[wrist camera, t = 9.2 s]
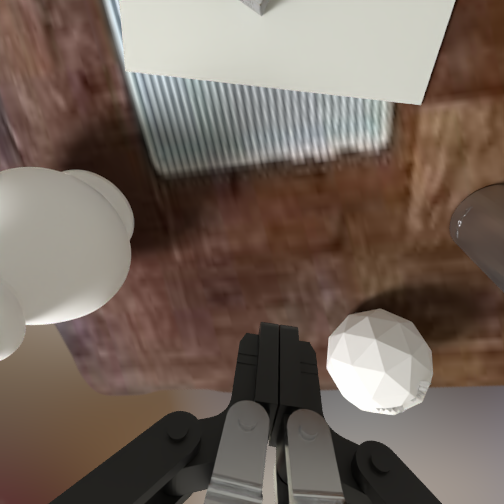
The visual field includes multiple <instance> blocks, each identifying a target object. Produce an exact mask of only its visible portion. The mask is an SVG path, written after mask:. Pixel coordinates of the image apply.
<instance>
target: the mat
mask: <svg viewBox="0 0 504 504" xmlns="http://www.w3.org/2000/svg"><path fill="white" fill-rule="evenodd" d="M119 3H120V14H121V26H122V37H123V49H124V61H125V71H127V72H136V73H144V74H153V75H162V76H171V77H180V78H188V79H197V80H206V81H215V82H223V83H232V84H241V85H250V86H258V87H267V88H276V89H285V90H293V91H302V92H311V93H320V94H328V95H337V96H346V97H355V98H364V99H372V100H381V101H390V102H399V103H407V104H416V105H421V103H422V100H423V97H424V94H425V91H426V88H427V85H428V82H429V79H430V76H431V73H432V70H433V67H434V64H435V61H436V58H437V55H438V52H439V49H440V46H441V43H442V39H443V36H444V33H445V30H446V27H447V24H448V21H449V18H450V15H451V12H452V9H453V6H454V3H455V0H270V1H269V2H268V4H267V6H266V9H265V11H264V13H263V15H262V16H260V15H259V14H258V13H256V12H255V11H254V10H252V9H251V8H249V7H248V6H247V5H245V4H244V3H242V2H241V1H239V0H119Z"/></svg>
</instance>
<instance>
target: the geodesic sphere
mask: <svg viewBox="0 0 504 504" xmlns="http://www.w3.org/2000/svg"><path fill="white" fill-rule="evenodd" d="M327 370H328V372H329V373H330V375H331V377H332V378H333V380H334V382H335V383H336V385H337V387H338V389H339V390H340V392H341V394H342V395H343V397H344V398H346V399H347V400H348V401H350V402H351V403H353V404H354V405H355V406H357V407H358V408H359V409H361V410H364V411H369V412H374V413H382V414H389V415H395V414H397V413H399V412H404V410H406V409H408V408H410V407H412V406H414V405H417V404H419V403H421V402H422V401H423V399H424V397H425V394H426V392H427V390H428V388H429V385H430V384H431V383H430V382H431V379H432V375H433V366H432V351H431V349H430V348H429V346H428V345H427V343H426V342H425V340H424V339H423V337H422V336H421V334H420V333H419V331H418V330H417V328H416V327H415V325H414V324H413V323H412V322H411V321H409V320H406V319H404V318H402V317H399V316H397V315H395V314H392V313H390V312H388V311H385V310H383V309H375V310H370V311H365V312H360V313H355V314H350V315H348V316H347V318H346V319H345V320H344V321H343V322H342V323H341V324H340V325H339V326H338V328H337V329H336V330H335V331H334V332H333V333H332V334H331V335H330V337H329V342H328V355H327Z"/></svg>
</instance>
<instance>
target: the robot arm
mask: <svg viewBox="0 0 504 504" xmlns="http://www.w3.org/2000/svg"><path fill="white" fill-rule="evenodd" d="M450 234H451V237H452V239H453V241H454V242H455V243H456V244H457V245H458V246H459V247H460V248H461V249H462V250H463V251H464V252H465V253H466V254H467V255H468V256H469V257H470V259H471V260H472V261H473V262H474V263H475V264H476V265H477V266H478V267H479V268H480V269H481V270H482V271H483V272H484V273H485V274H486V275H487V276H488V277H489V278H490V279H491V280H492V281H493V282H494V283H495V284H496V285H497V286H498V287H499V288H500V289H501V290H502V291H503V292H504V184H502V185H492V186H488V187H485V188H483V189H480V190H478V191H476V192H474V193H473V194H471V195H470V196H468V197H467V198H466V199H465V200H464V201H462V202H461V204H460V205H459V206H458V207H457V208H456V210H455V212H454V214H453V215H452V218H451V222H450ZM268 440H269V446H273V447H276V462H275V465H274V471H273V474H274V496H275V504H442V503H441V502H440V501H439V500H438V499H437V498H436V497H435V496H434V495H433V494H432V493H431V492H430V490H429V489H428V488H427V487H426V486H425V485H424V484H423V483H422V482H421V481H420V480H419V479H418V478H417V477H416V475H415V474H414V473H413V472H412V471H411V470H410V469H409V468H408V467H407V466H406V465H405V464H404V463H403V462H402V461H401V460H400V458H399V457H398V456H397V455H396V454H395V453H394V452H393V451H392V450H391V449H390V448H388V447H387V446H386V445H384V444H382V443H380V442H376V441H366V442H363V443H362V444H360V445H358V444H356V443H353V442H351V441H349V440H347V439H345V438H343V437H341V436H340V435H338V434H337V433H335V432H334V431H333V430H332V429H331V428H330V427H329V425H328V424H327V422H326V421H325V418H324V416H323V412H322V404H321V395H320V386H319V377H318V369H317V360H316V353H315V351H314V349H313V348H312V346H311V344H310V343H309V342H304V341H299V335H298V327H293V326H286V325H278V324H272V323H265V322H261V324H260V329H259V334H258V335H256V334H250V333H246V334H245V336H244V337H243V338H242V340H241V341H240V344H239V351H238V358H237V364H236V371H235V377H234V384H233V391H232V397H231V401H230V404H229V405H228V407H227V408H226V410H224V411H223V412H222V413H220V414H219V415H217V416H214V417H210V418H205V419H200V420H198V419H197V418H196V417H195V416H193V415H192V414H190V413H188V412H184V411H176V412H172V413H170V414H168V415H166V416H164V417H163V418H162V419H161V420H159V421H158V422H156V423H155V424H154V425H152V426H151V427H150V428H149V429H147V430H146V431H144V432H143V433H142V434H141V435H139V436H138V437H137V438H135V439H134V440H133V441H131V442H130V443H129V444H127V445H126V446H125V447H123V448H122V449H121V450H119V451H118V452H117V453H115V454H114V455H113V456H111V457H110V458H109V459H107V460H106V461H105V462H103V463H102V464H101V465H99V466H98V467H97V468H95V469H94V470H93V471H91V472H90V473H89V474H88V475H86V476H85V477H83V478H82V479H81V480H79V481H78V482H77V483H76V484H74V485H73V486H71V487H70V488H69V489H68V490H66V491H65V492H64V493H62V494H61V495H60V496H58V497H57V498H56V499H54V500H53V501H52V502H50V503H49V504H183V503H184V502H185V501H186V500H187V499H188V498H189V497H190V496H191V494H192V493H193V492H197V491H201V490H205V489H207V493H206V497H205V501H204V504H262V499H263V496H262V485H263V477H264V468H265V459H266V450H267V443H268Z"/></svg>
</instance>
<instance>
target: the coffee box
mask: <svg viewBox="0 0 504 504" xmlns="http://www.w3.org/2000/svg"><path fill="white" fill-rule="evenodd" d="M239 1H241V2H242V3H244V4H245V5H247V6H248V7H249V8H251V9H252V10H254V11H255V12H256V13H258V14H259V15H260V16H262V15H263V13H264V11H265V9H266V6H267V4H268V2H269V1H270V0H239Z"/></svg>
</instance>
